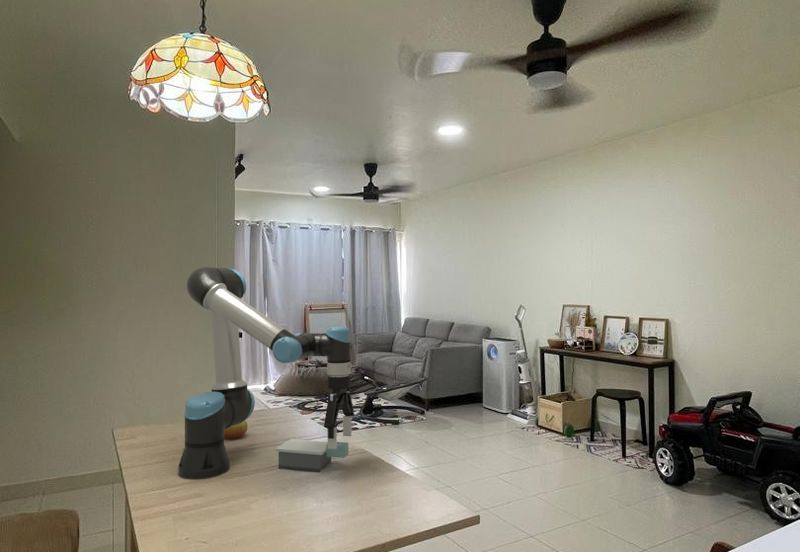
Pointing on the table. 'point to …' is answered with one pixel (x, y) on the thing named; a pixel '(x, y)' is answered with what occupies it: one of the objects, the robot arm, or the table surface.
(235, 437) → the apple
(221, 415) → the robot arm
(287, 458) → the tub
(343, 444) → the lid
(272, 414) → the table surface
